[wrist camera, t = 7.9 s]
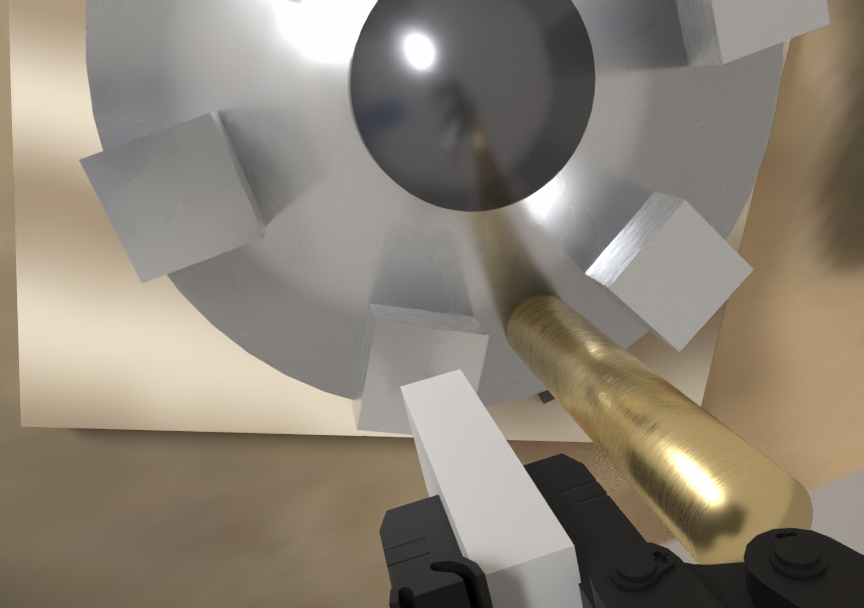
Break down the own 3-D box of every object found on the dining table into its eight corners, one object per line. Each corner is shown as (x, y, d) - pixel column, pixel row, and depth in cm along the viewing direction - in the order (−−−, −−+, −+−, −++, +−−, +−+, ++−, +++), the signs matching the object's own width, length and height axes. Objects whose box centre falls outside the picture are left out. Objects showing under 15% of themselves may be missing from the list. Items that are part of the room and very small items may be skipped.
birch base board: (16, -472, 18) (-12, -531, 16) (830, -245, 23) (873, -272, 21) (37, 406, 24) (17, 430, 22) (671, 427, 29) (695, 448, 28)
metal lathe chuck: (-3, -140, 18) (-776, -753, 5) (633, -346, 20) (1344, -1245, 6) (274, 438, 24) (257, 857, 11) (746, 249, 26) (1234, 418, 12)
